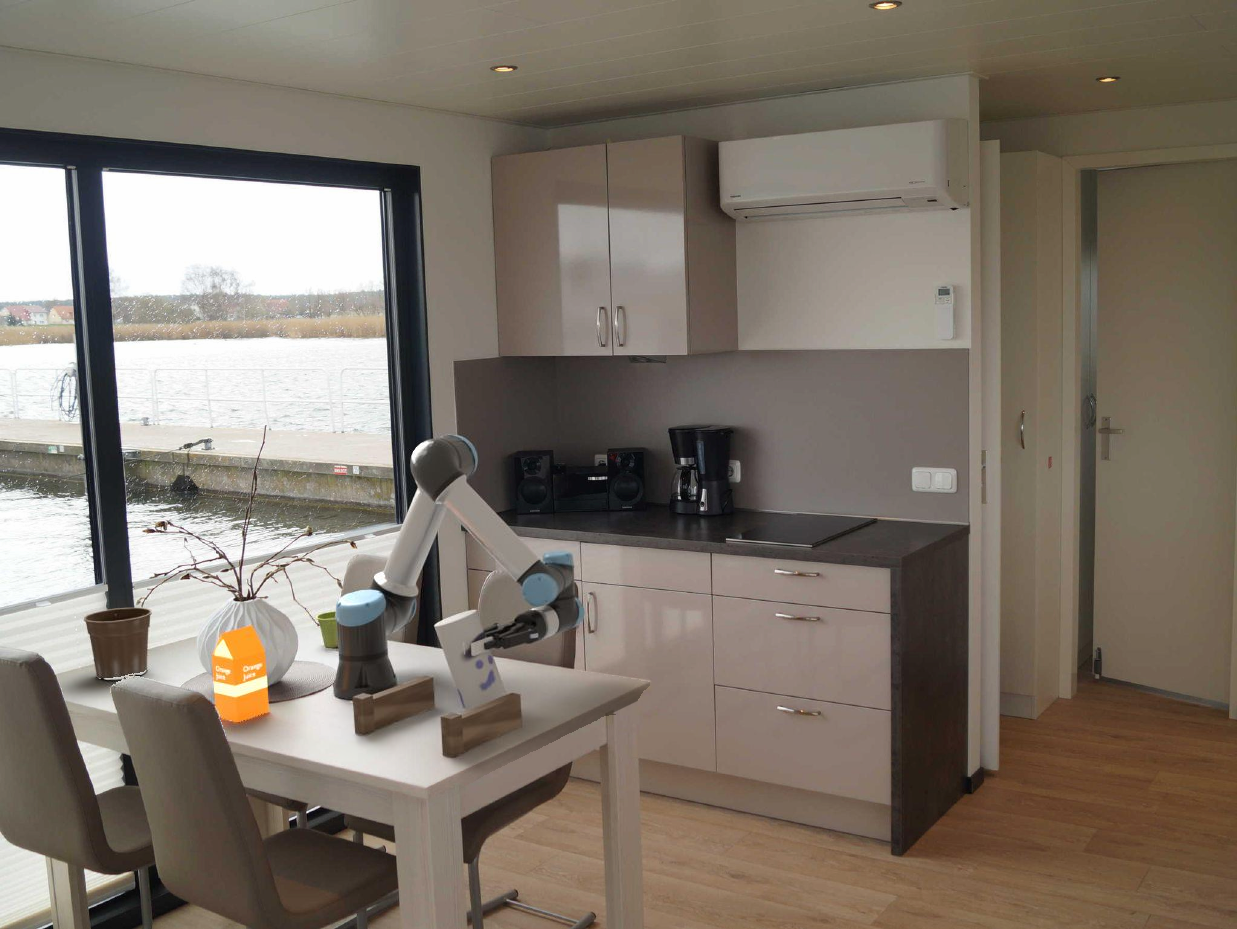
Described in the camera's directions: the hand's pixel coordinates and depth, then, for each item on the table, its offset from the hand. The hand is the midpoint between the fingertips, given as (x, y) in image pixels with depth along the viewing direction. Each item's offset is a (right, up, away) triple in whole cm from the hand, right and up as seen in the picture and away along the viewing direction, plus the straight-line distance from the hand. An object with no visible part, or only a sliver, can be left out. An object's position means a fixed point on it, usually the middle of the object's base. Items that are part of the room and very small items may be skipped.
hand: (468, 648), depth 249 cm
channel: (-5, -17, -3) cm, 18 cm away
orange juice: (-53, -17, +11) cm, 57 cm away
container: (+3, -13, +6) cm, 15 cm away
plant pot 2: (-46, -11, +70) cm, 84 cm away
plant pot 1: (-96, -15, +48) cm, 109 cm away
